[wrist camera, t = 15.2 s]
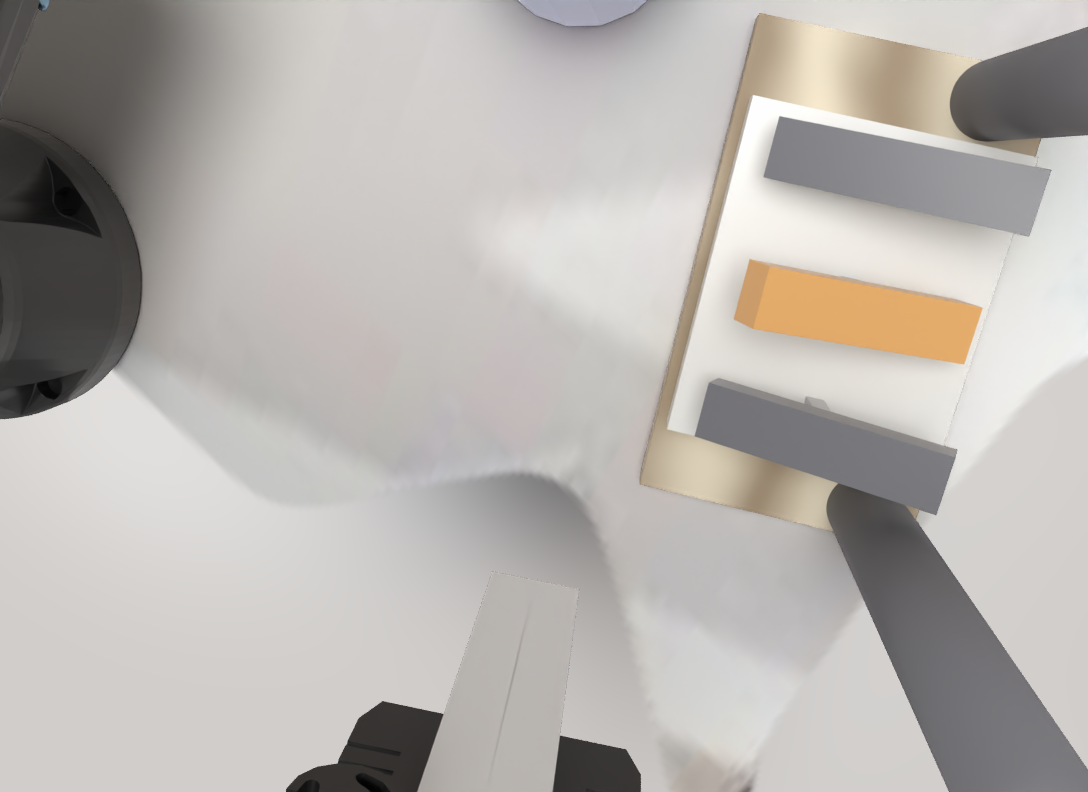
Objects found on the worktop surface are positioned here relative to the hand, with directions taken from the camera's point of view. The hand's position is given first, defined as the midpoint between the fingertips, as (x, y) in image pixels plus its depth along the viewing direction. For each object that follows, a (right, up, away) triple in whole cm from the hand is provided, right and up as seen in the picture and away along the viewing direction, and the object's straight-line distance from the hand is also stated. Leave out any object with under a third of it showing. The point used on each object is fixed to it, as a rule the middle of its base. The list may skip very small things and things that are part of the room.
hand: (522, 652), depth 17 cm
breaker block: (+14, +9, +29) cm, 33 cm away
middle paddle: (+13, +8, +23) cm, 28 cm away
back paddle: (+12, +2, +24) cm, 27 cm away
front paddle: (+14, +13, +22) cm, 29 cm away
